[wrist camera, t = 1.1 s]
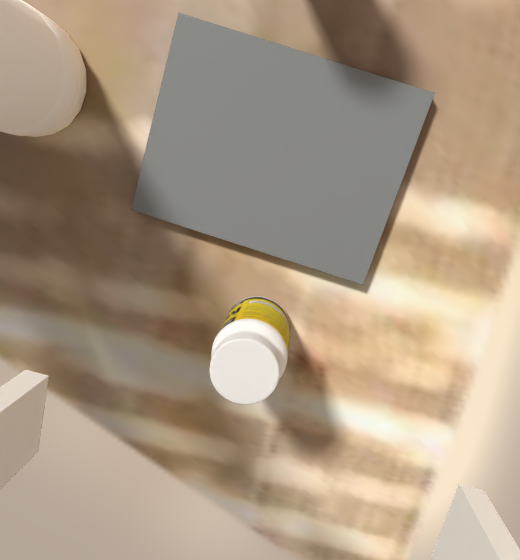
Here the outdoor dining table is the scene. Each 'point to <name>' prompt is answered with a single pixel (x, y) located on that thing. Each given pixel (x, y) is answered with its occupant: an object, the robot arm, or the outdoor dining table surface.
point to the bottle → (37, 73)
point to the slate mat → (277, 148)
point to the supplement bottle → (250, 350)
